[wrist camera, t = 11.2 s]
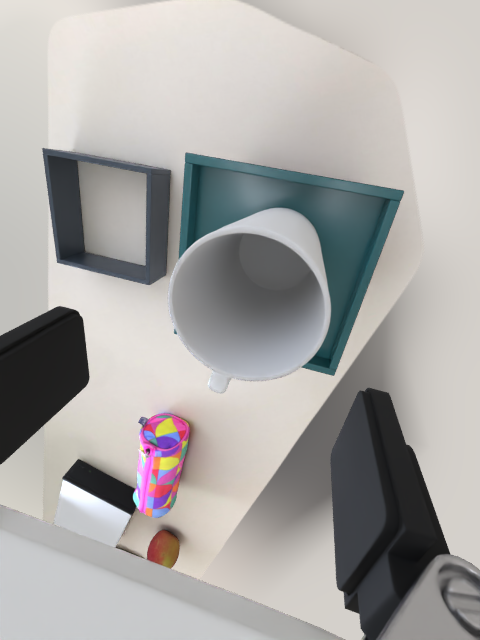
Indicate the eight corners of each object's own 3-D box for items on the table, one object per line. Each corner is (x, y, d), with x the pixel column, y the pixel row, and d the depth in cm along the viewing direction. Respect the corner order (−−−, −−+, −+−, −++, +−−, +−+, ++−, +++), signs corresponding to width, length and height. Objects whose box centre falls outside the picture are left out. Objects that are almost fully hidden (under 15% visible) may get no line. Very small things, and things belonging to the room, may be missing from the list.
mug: (253, 188, 21) (189, 196, 11) (340, 224, 21) (366, 269, 10) (212, 306, 26) (142, 394, 15) (284, 337, 26) (261, 447, 15)
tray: (195, 154, 22) (185, 152, 20) (396, 189, 20) (404, 190, 18) (182, 324, 28) (173, 333, 26) (332, 363, 26) (334, 376, 24)
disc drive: (143, 493, 70) (132, 514, 65) (123, 535, 80) (112, 555, 76) (78, 458, 70) (62, 477, 66) (66, 504, 81) (51, 523, 76)
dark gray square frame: (72, 151, 40) (42, 148, 35) (170, 169, 38) (151, 168, 33) (81, 254, 46) (57, 262, 42) (166, 274, 44) (149, 285, 40)
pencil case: (150, 401, 56) (122, 437, 48) (196, 416, 55) (176, 455, 47) (146, 473, 66) (123, 513, 58) (185, 487, 65) (167, 529, 57)
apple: (151, 530, 76) (135, 566, 69) (165, 518, 72) (149, 555, 65) (175, 546, 77) (161, 583, 70) (190, 535, 73) (177, 573, 66)
